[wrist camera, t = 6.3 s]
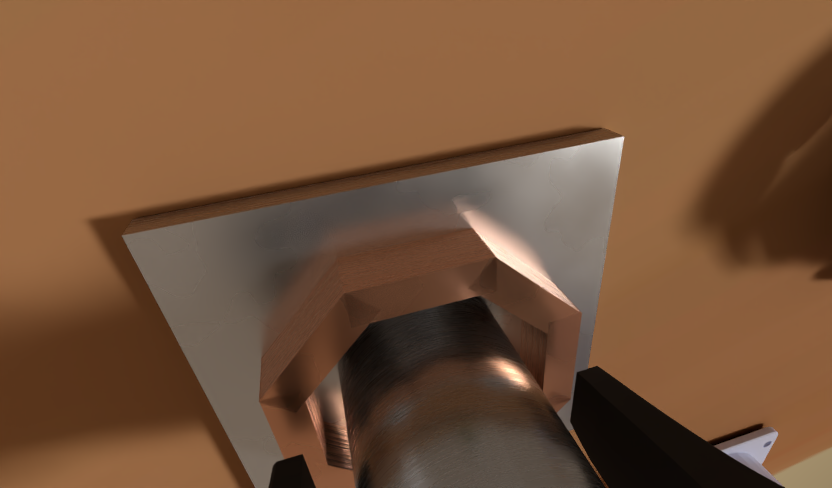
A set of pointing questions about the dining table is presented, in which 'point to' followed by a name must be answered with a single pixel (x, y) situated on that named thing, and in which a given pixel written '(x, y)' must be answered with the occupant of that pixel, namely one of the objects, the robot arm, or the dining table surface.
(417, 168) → the flange plate
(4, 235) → the dining table surface
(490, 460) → the grey cylinder
